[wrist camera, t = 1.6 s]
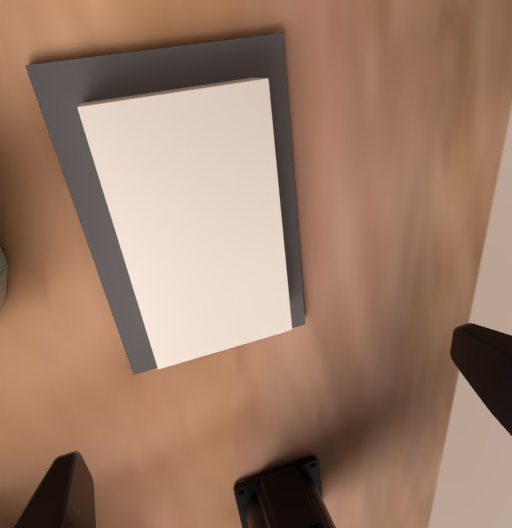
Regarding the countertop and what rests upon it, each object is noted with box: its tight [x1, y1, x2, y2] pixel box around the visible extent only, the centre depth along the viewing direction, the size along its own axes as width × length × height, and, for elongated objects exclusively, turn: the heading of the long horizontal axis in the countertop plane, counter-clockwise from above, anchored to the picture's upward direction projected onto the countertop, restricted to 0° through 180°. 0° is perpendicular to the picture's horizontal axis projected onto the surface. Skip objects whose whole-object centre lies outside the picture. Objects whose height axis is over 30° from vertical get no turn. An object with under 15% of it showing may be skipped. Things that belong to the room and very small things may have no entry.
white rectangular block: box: [77, 78, 292, 369], centre depth 18 cm, size 12×7×2 cm, turn 7°
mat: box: [25, 33, 305, 374], centre depth 19 cm, size 15×10×1 cm, turn 7°
